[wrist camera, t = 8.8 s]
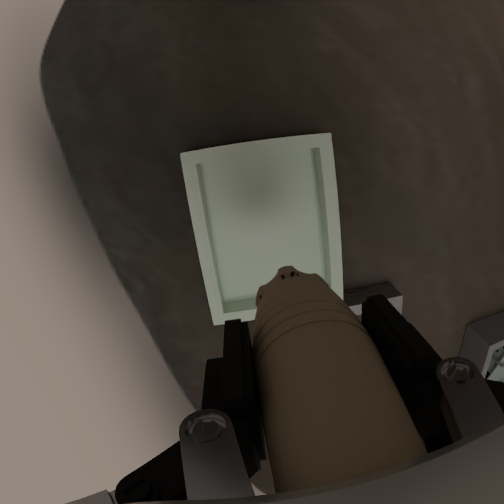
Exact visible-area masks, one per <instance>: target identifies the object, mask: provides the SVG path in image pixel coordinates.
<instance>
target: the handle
mask: <svg viewBox="0 0 504 504" xmlns="http://www.w3.org/2000/svg"><path fill="white" fill-rule="evenodd" d="M255 305H256V306H257V311H256V315H255V320H254V328H253V364H254V376H255V386H256V393H257V398H258V404H259V409H260V414H261V419H262V424H263V429H264V435H265V440H266V445H267V450H268V455H269V460H270V465H271V469H272V475H273V481H274V486H275V492H276V493H283V492H289V491H296V490H301V489H307V488H312V487H317V486H322V485H327V484H331V483H336V482H340V481H344V480H348V479H352V478H356V477H359V476H363V475H367V474H370V473H374V472H377V471H380V470H383V469H387V468H390V467H393V466H396V465H399V464H402V463H405V462H407V461H410V460H413V459H416V458H418V457H421V456H423V455H426V454H428V453H427V451H426V449H425V446H424V444H423V442H422V440H421V438H420V436H419V434H418V432H417V430H416V428H415V425H414V423H413V421H412V419H411V417H410V415H409V413H408V410H407V408H406V406H405V404H404V402H403V400H402V398H401V395H400V393H399V391H398V389H397V387H396V385H395V383H394V381H393V379H392V377H391V375H390V373H389V371H388V369H387V367H386V365H385V363H384V361H383V359H382V357H381V355H380V353H379V351H378V349H377V347H376V345H375V344H374V342H373V340H372V339H371V337H370V335H369V334H368V332H367V331H366V329H365V328H364V326H363V325H362V323H361V322H360V320H359V319H358V318H357V316H356V315H355V314H354V312H353V311H352V310H351V309H350V308H349V306H348V305H347V304H346V303H345V302H344V301H343V300H342V299H341V298H340V297H339V296H338V295H337V294H336V293H335V292H334V291H333V290H332V289H331V288H329V285H328V284H327V283H326V281H325V280H324V279H323V278H322V277H321V276H319V275H318V274H317V273H312V274H308V273H303V272H300V271H298V270H297V269H295V268H294V267H293V266H284V267H281V268H279V269H278V272H277V274H276V275H275V277H274V278H273V279H272V280H271V281H269V282H268V283H267V284H265V285H262V286H260V287H259V289H258V291H257V295H256V302H255Z"/></svg>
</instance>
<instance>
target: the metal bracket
mask: <svg viewBox="0 0 504 504" xmlns="http://www.w3.org/2000/svg"><path fill="white" fill-rule="evenodd" d="M497 350H499V351H498V352H497ZM487 371H488V372H489V373H490V375H489V377H488V378H487V379H489V380H494V381H499V382H504V348H502V347H501V348H498V349H496V350H494V351H493V355H492V358H491V361H490V364H489V367H488V370H487Z"/></svg>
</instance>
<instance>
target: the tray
mask: <svg viewBox="0 0 504 504" xmlns="http://www.w3.org/2000/svg"><path fill="white" fill-rule="evenodd" d="M180 157H181V163H182V169H183V175H184V181H185V186H186V192H187V198H188V203H189V208H190V214H191V219H192V224H193V229H194V235H195V240H196V245H197V250H198V254H199V259H200V264H201V269H202V274H203V278H204V283H205V288H206V292H207V297H208V301H209V306H210V310H211V315H212V319H213V323H214V325H221V324H225V321H226V320H233V319H241V322H243V321H250V320H255V315H256V311H257V306H256V305H255V302H256V295H257V291H258V289H259V287H260V286H262V285H265V284H267V283H268V282H269V281H271V280H272V279H273V278H274V277H275V275H276V274H277V272H278V269H279V268H281V267H284V266H293V267H294V268H295V269H297V270H298V271H300V272H303V273H308V274H312V273H317V274H318V275H319V276H321V277H322V278H323V279H324V280H325V281H326V283H327V284H328V285H329V288H331V289H332V290H333V291H334V292H335V293H336V294H337V295H338V296H339V297H340V298H341V299H342V300H343V272H342V250H341V233H340V218H339V205H338V194H337V183H336V173H335V163H334V154H333V146H332V137H331V133H322V134H310V135H300V136H291V137H282V138H273V139H265V140H257V141H250V142H243V143H236V144H230V145H223V146H217V147H211V148H206V149H200V150H194V151H189V152H184V153H180Z"/></svg>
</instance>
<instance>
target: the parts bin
mask: <svg viewBox="0 0 504 504" xmlns="http://www.w3.org/2000/svg"><path fill="white" fill-rule="evenodd" d="M503 346H504V311H502V312H500V313H497V314H495V315H492V316H489V317H487V318H484V319H481V320H478V321H476V322H473V323H470V324H467V326H466V331H465V336H464V340H463V345H462V349H461V353H460V357H462V358H465V359H468V360H470V361H472V362H473V363H474V364H475V365H476V366H477V367H478V369H479V371H480V372H481V374H482V376H483V377H484V379H485V376H486V373H487V370H488V367H489V364H490V361H491V358H492V355H493V351H494V350H496V349H498V348H501V347H503Z"/></svg>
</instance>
